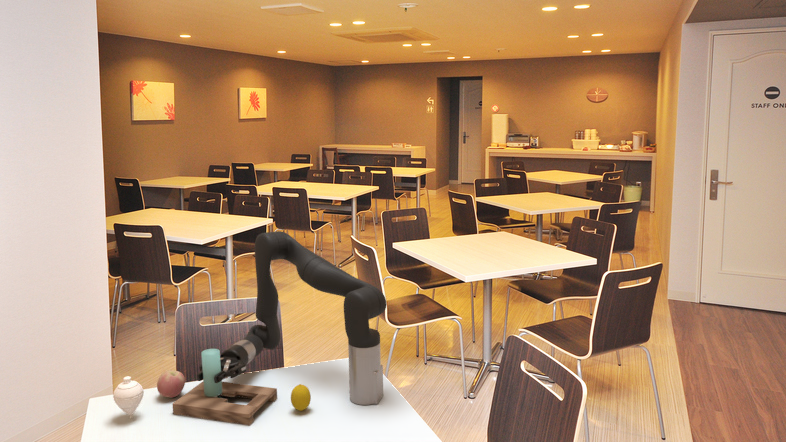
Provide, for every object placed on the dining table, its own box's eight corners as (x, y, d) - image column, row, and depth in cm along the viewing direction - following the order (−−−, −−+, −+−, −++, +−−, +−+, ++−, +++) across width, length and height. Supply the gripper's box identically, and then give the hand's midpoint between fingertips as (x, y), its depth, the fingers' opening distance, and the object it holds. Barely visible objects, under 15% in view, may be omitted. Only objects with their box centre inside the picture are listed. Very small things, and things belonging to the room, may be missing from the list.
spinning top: (142, 423, 162) (138, 382, 160) (112, 426, 160) (107, 384, 158) (148, 410, 169) (145, 370, 167) (120, 412, 168) (116, 372, 166)
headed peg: (226, 401, 174) (223, 349, 171) (217, 409, 169) (213, 356, 166) (211, 399, 175) (207, 347, 172) (201, 407, 170) (197, 354, 168)
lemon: (307, 416, 164) (306, 389, 163) (288, 414, 166) (287, 387, 164) (313, 407, 170) (312, 380, 168) (295, 405, 171) (294, 379, 169)
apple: (172, 405, 172) (170, 379, 171) (152, 400, 175) (149, 374, 174) (191, 393, 179) (189, 368, 178) (171, 389, 182) (169, 364, 181)
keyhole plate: (277, 398, 175) (276, 388, 175) (249, 425, 160) (249, 414, 159) (206, 389, 182) (205, 379, 181) (173, 414, 167) (172, 403, 166)
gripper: (217, 342, 185) (183, 363, 169) (258, 346, 181) (228, 369, 165) (218, 364, 187) (185, 388, 171) (259, 369, 183) (230, 394, 167)
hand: (207, 378), depth 168 cm, fingers closed on headed peg, 5 cm apart
